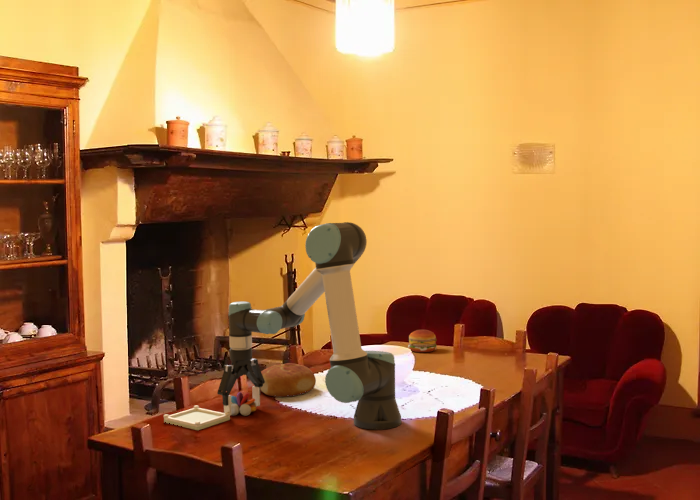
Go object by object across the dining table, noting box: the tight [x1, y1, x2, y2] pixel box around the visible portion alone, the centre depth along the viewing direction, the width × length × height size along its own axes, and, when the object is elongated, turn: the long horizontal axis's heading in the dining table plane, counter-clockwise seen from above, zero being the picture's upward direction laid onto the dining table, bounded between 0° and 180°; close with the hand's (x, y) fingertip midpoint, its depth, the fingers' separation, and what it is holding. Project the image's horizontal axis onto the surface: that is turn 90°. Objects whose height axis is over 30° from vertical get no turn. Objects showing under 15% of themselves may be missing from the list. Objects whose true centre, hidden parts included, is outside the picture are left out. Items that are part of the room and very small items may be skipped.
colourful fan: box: [230, 391, 257, 417], centre depth 263 cm, size 8×10×7 cm
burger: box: [407, 329, 438, 353], centre depth 363 cm, size 13×14×10 cm
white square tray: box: [163, 405, 231, 431], centre depth 254 cm, size 17×15×2 cm
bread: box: [260, 362, 317, 398], centre depth 292 cm, size 23×23×10 cm
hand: (242, 410), depth 263 cm, fingers open, 13 cm apart
